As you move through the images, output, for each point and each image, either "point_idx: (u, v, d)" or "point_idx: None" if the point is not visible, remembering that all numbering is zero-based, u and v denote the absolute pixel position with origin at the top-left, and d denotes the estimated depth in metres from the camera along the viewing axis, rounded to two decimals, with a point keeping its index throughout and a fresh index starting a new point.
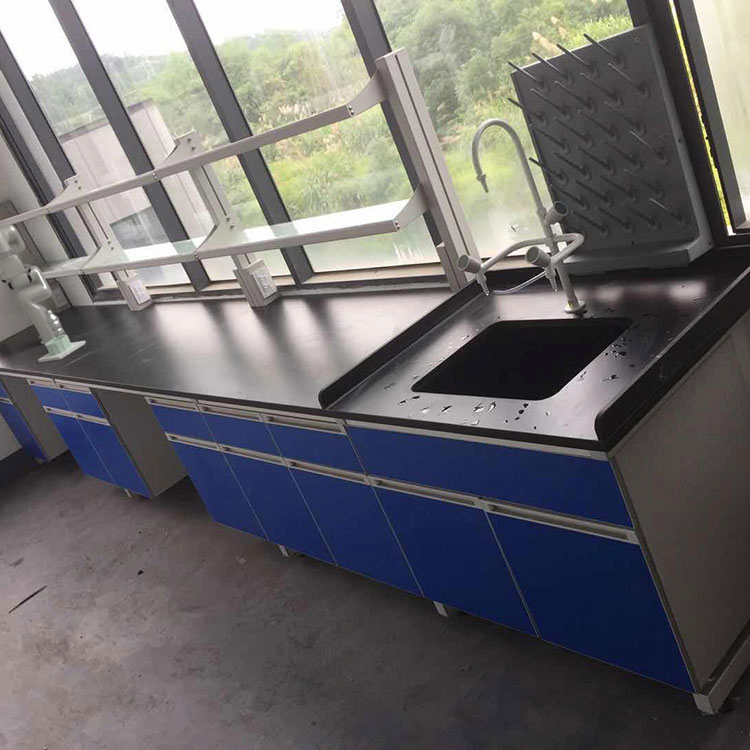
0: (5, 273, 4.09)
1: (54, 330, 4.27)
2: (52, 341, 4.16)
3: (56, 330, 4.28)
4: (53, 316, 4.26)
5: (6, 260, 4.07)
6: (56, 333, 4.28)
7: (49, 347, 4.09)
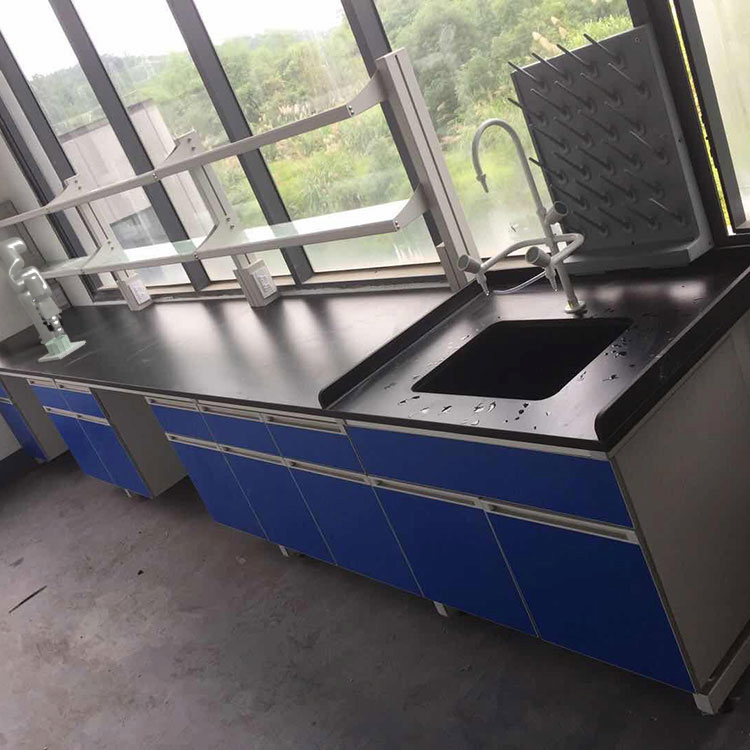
0: None
1: (54, 330, 4.27)
2: (52, 341, 4.16)
3: (56, 330, 4.27)
4: None
5: None
6: (56, 333, 4.28)
7: (49, 347, 4.09)
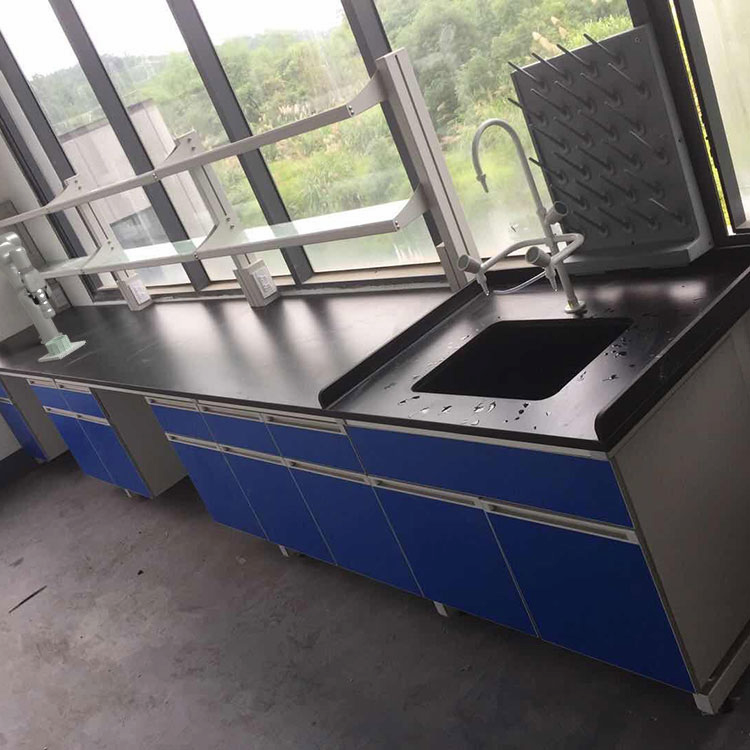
0: None
1: (40, 303, 4.22)
2: (52, 341, 4.16)
3: (41, 303, 4.22)
4: (39, 289, 4.20)
5: None
6: (42, 306, 4.23)
7: (49, 347, 4.09)
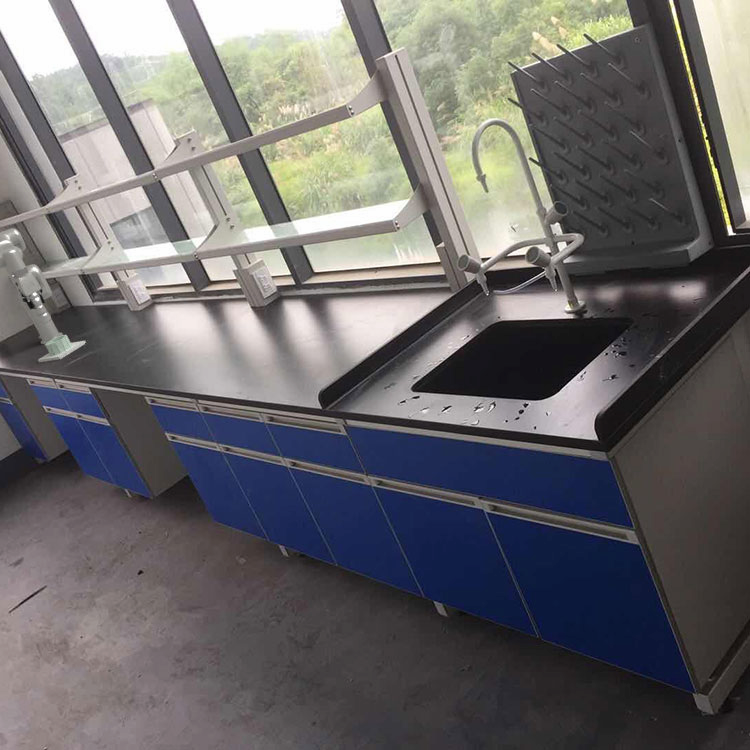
0: None
1: (35, 307, 4.04)
2: (52, 341, 4.16)
3: (36, 307, 4.04)
4: None
5: None
6: (37, 311, 4.04)
7: (49, 347, 4.09)
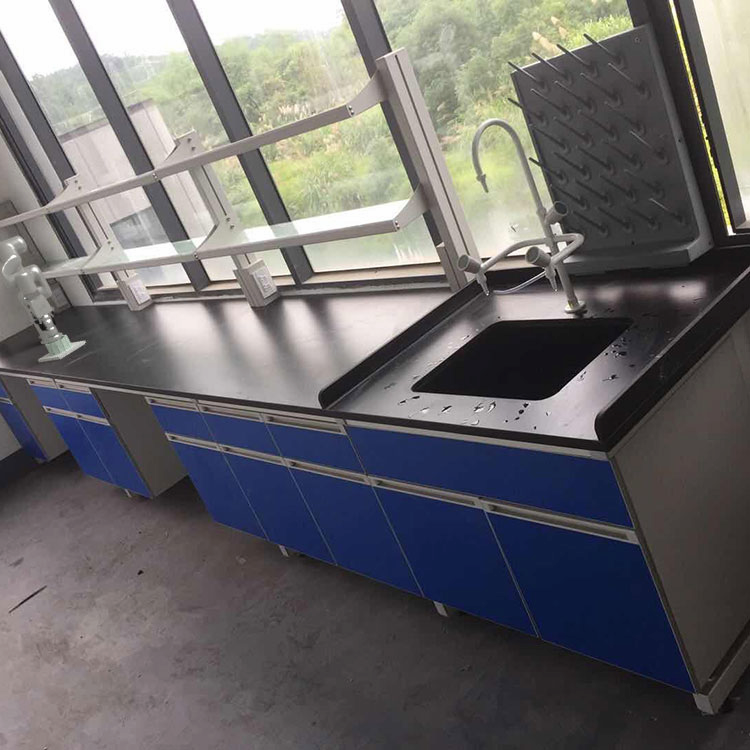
0: None
1: (46, 329, 4.08)
2: None
3: (48, 329, 4.08)
4: None
5: None
6: (48, 332, 4.09)
7: (49, 347, 4.09)
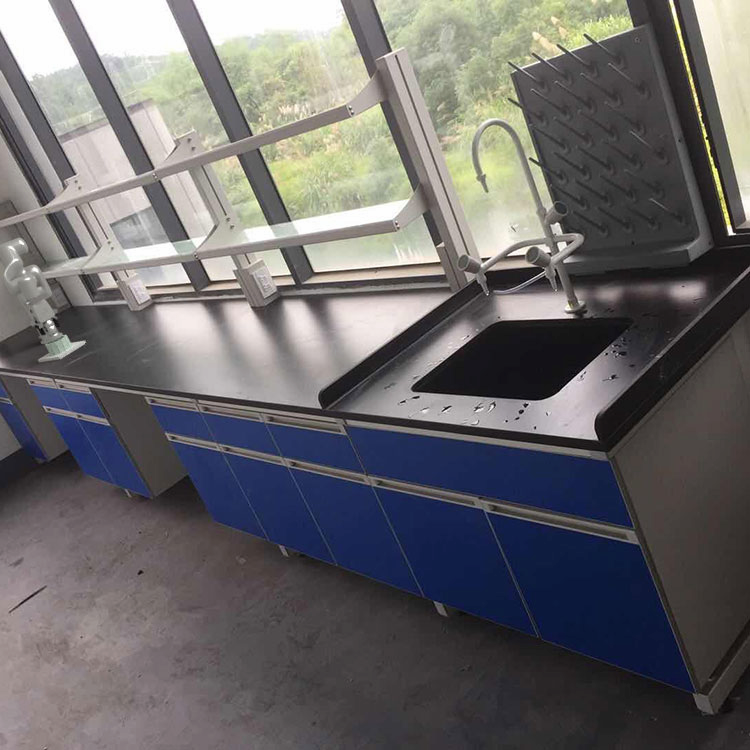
0: None
1: (50, 335, 4.09)
2: None
3: (51, 335, 4.09)
4: (49, 321, 4.08)
5: None
6: (52, 339, 4.10)
7: (49, 347, 4.09)
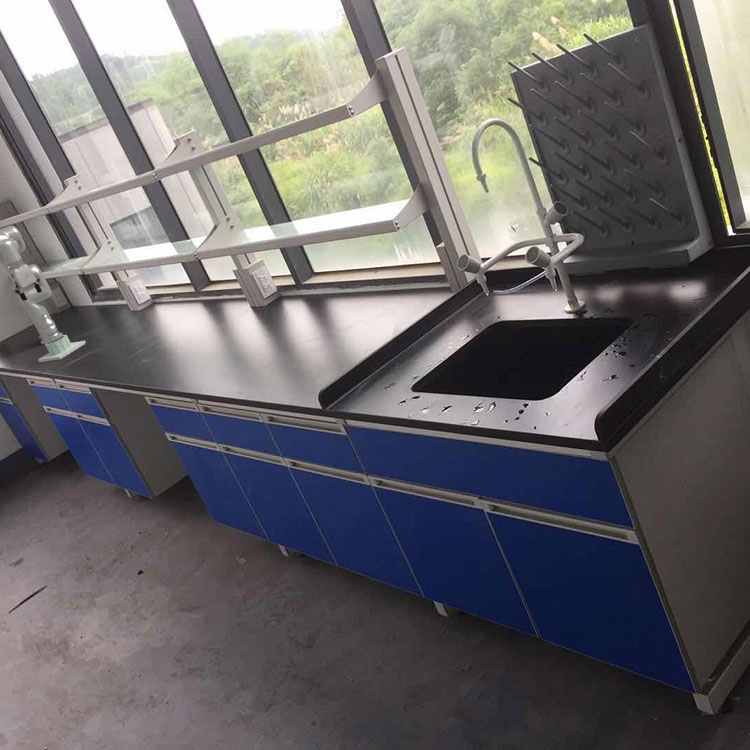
0: None
1: (50, 335, 4.09)
2: None
3: (52, 335, 4.09)
4: (49, 321, 4.08)
5: None
6: (52, 338, 4.10)
7: (49, 347, 4.09)
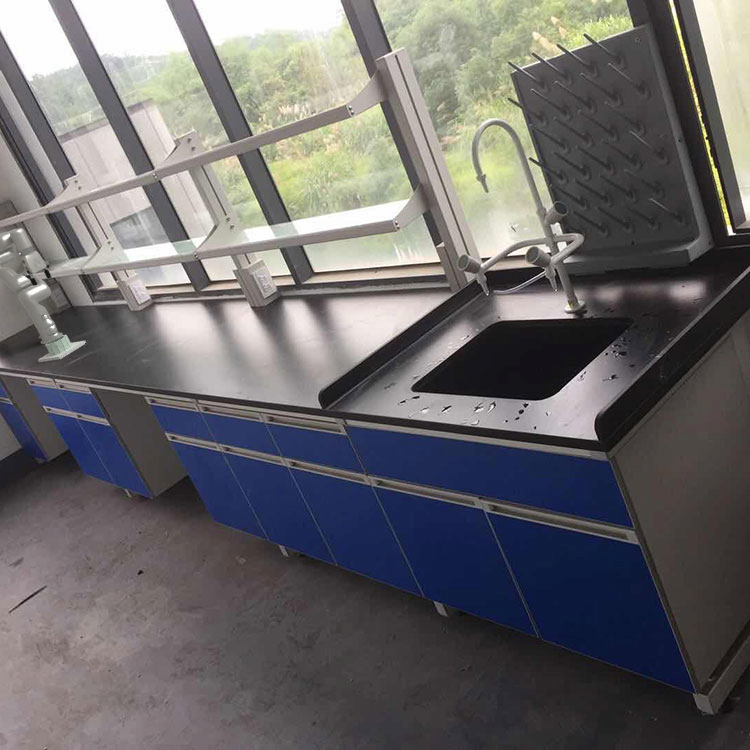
0: None
1: (50, 335, 4.09)
2: None
3: (52, 335, 4.09)
4: (49, 321, 4.08)
5: None
6: (52, 338, 4.10)
7: (49, 347, 4.09)
